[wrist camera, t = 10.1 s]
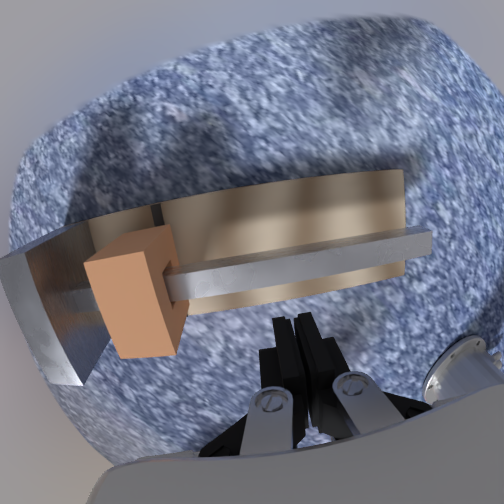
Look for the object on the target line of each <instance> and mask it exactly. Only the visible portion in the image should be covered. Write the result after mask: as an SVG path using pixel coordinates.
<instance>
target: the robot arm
mask: <svg viewBox="0 0 504 504" xmlns="http://www.w3.org/2000/svg"><path fill="white" fill-rule="evenodd" d="M272 321H273V328H274V335H275V342H276V347H274V348H267V349H260V350H259V362H260V376H261V390H259V391H257V392H256V393H255V394H254V395H253V396H252V398H251V400H250V405H249V410H248V414H246V415H245V416H244V417H243V418H241V419H240V420H239V421H238V422H236V423H235V424H234V425H232V426H231V427H230V428H229V429H227V430H226V431H225V432H223V433H222V434H221V435H219V436H218V437H217V438H215V439H214V440H212V441H211V442H210V443H208V444H207V445H206V446H205V447H203V448H202V449H201V451H199V452H193V451H192V450H189V451H183V452H177V453H170V454H163V455H155V456H146V457H141V458H138V459H137V460H135V461H132V462H127V463H123V464H120V465H117V466H114V467H112V468H110V469H108V470H107V471H105V472H104V473H103V474H102V475H101V477H100V478H99V479H98V480H97V482H96V484H95V485H94V487H93V489H92V492H91V493H90V495H89V497H88V500H87V502H86V504H504V374H503V373H502V372H501V371H500V370H499V369H501V367H502V363H501V361H500V360H499V359H500V358H501V353H500V352H499V351H498V352H496V353H494V354H493V355H492V356H491V355H490V354H489V353H488V352H487V351H486V343H485V341H484V340H483V339H482V338H481V337H480V336H477V335H472V336H468V337H466V338H464V339H462V340H460V341H459V342H457V343H456V344H454V345H453V346H452V347H451V348H449V349H448V350H447V351H446V352H445V353H444V354H443V355H442V357H441V358H440V359H439V360H438V361H437V362H436V364H435V365H434V366H433V368H432V369H431V371H430V372H429V374H428V376H427V378H426V380H425V382H424V385H423V390H422V394H423V397H424V399H425V400H426V401H427V403H429V404H432V405H429V404H427V403H424V402H421V401H417V400H413V399H409V398H405V397H402V396H398V395H394V394H391V393H387V392H383V391H382V390H381V389H380V388H379V387H378V386H377V384H376V383H375V382H374V381H373V379H372V378H371V377H370V376H368V375H367V374H365V373H363V372H358V371H350V369H349V367H348V365H347V363H346V361H345V359H344V357H343V355H342V353H341V351H340V349H339V347H338V345H337V343H336V341H335V339H334V337H330V338H325V339H322V337H321V335H320V333H319V330H318V328H317V326H316V323H315V321H314V319H313V316H312V314H311V312H307V313H301V314H298V317H297V318H294V328H295V335H294V331H293V328H292V324H291V321H290V319H285V316H283V317H277V318H272ZM308 410H309V415H310V419H311V423H312V426H313V427H316V426H318V430H319V433H325V434H327V435H330V436H331V441H332V442H328V443H324V444H319V445H314V446H309V447H303V448H298V446H297V444H298V443H299V442H300V441H301V440H302V439H303V438H304V437H305V436H306V434H305V429H306V428H309V424H308Z"/></svg>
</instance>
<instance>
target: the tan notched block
mask: <svg viewBox="0 0 504 504" xmlns="http://www.w3.org/2000/svg"><path fill="white" fill-rule="evenodd" d="M178 265H179V261H178V257H177V253H176V248H175V244H174V240H173V235H172V231H171V226H170V224H168V225H162V226H157V227H152V228H148V229H143V230H138V231H133V232H128V233H124V234H122V235H120V236H119V237H118V238H116V239H115V240H113V241H112V242H111V243H109V244H108V245H106V246H105V247H104V248H102V249H101V250H100V251H98V252H97V253H96V254H94V255H93V256H92V257H90V258H89V259H88V260H86V261H85V262H84V267H85V270H86V273H87V276H88V279H89V282H90V285H91V288H92V290H93V293H94V296H95V299H96V301H97V304H98V307H99V309H100V312H101V314H102V317H103V319H104V322H105V324H106V327H107V329H108V332H109V334H110V336H111V338H112V341H113V343H114V345H115V347H116V350H117V352H118V354H119V356H120V358H121V359H125V358H144V357H158V356H170V355H176V354H177V350H178V346H179V342H180V339H181V335H182V331H183V327H184V324H185V320H186V316H187V313H188V309H189V305H190V303H189V300H181V301H174V302H170V300H169V296H168V293H167V289H166V286H165V282H164V279H163V275H162V272H163V271H164V269H165V268H166V267H172V266H178Z"/></svg>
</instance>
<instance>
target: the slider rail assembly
mask: <svg viewBox="0 0 504 504" xmlns="http://www.w3.org/2000/svg"><path fill="white" fill-rule="evenodd" d="M431 250H432V231H431V230H429V229H427V228H424V227H422V226H420V225H418V226H412V227H406V228H400V229H394V230H388V231H382V232H376V233H370V234H364V235H358V236H352V237H346V238H340V239H334V240H328V241H322V242H316V243H310V244H304V245H298V246H292V247H286V248H280V249H274V250H268V251H262V252H256V253H250V254H244V255H238V256H232V257H226V258H220V259H214V260H208V261H202V262H196V263H190V264H184V265H178V266H172V267H166V268H165V269H164V271H163V272H162V275H163V279H164V282H165V286H166V289H167V293H168V296H169V300H170V302H174V301H181V300H188V299H195V298H202V297H209V296H215V295H222V294H228V293H235V292H241V291H247V290H253V289H259V288H265V287H271V286H276V285H282V284H288V283H293V282H299V281H304V280H310V279H315V278H320V277H326V276H331V275H336V274H341V273H346V272H351V271H356V270H361V269H366V268H371V267H375V266H380V265H385V264H389V263H394V262H398V261H403V260H407V259H412V258H416V257H421V256H425V255H429V254H431ZM94 254H96V250H95V247H94V243H93V240H92V236H91V232H90V228H89V224H88V221H84V222H80V223H76V224H73V225H69V226H66V227H62V228H59V229H56V230H54V231H52V232H50V233H48V234H46V235H44V236H42V237H40V238H38V239H36V240H34V241H32V242H30V243H28V244H26V245H24V246H22V247H20V248H18V249H16V250H14V251H13V252H11V253H9V254H7V255H5V256H4V257H2V258H0V279H1V282H2V285H3V288H4V290H5V293H6V296H7V298H8V301H9V303H10V306H11V308H12V310H13V313H14V315H15V317H16V320H17V322H18V324H19V326H20V328H21V330H22V332H23V334H24V337H25V339H26V341H27V343H28V344H29V346H30V348H31V350H32V352H33V354H34V356H35V358H36V359H37V361H38V363H39V365H40V366H41V368H42V370H43V372H44V373H45V375H46V377H47V378H48V380H49V381H50V383H52V384H63V385H77V386H84V384H85V382H86V380H87V379H88V377H89V375H90V373H91V371H92V370H93V368H94V366H95V364H96V363H97V361H98V359H99V357H100V356H101V354H102V352H103V351H104V349H105V347H106V346H107V344H108V342H109V341H110V339H111V336H110V334H109V332H108V329H107V327H106V324H105V322H104V319H103V317H102V314H101V312H100V309H99V307H98V304H97V301H96V299H95V296H94V293H93V290H92V288H91V285H90V282H89V279H88V276H87V273H86V270H85V267H84V262H85V261H86V260H88V259H89V258H90V257H92V256H93V255H94Z"/></svg>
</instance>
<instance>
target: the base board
mask: <svg viewBox="0 0 504 504" xmlns="http://www.w3.org/2000/svg"><path fill="white" fill-rule="evenodd" d="M84 221H88V224H89V228H90V232H91V236H92V240H93V243H94V247H95V250H96V253H97V252H98V251H100V250H101V249H102V248H104V247H105V246H106V245H108V244H109V243H111V242H112V241H113V240H115V239H116V238H118V237H119V236H120V235H122V234H124V233H128V232H133V231H138V230H143V229H148V228H152V227H157V226H162V225H168V224H170V226H171V231H172V235H173V240H174V244H175V248H176V253H177V257H178V261H179V265H184V264H190V263H196V262H202V261H208V260H214V259H220V258H226V257H232V256H238V255H244V254H250V253H256V252H262V251H268V250H274V249H280V248H286V247H292V246H298V245H304V244H310V243H316V242H322V241H328V240H334V239H340V238H346V237H352V236H358V235H364V234H370V233H376V232H382V231H388V230H394V229H400V228H406V224H405V192H404V176H403V170H402V169H390V170H376V171H364V172H353V173H342V174H333V175H323V176H315V177H306V178H298V179H291V180H283V181H276V182H269V183H262V184H256V185H249V186H243V187H237V188H231V189H225V190H219V191H214V192H208V193H203V194H198V195H192V196H187V197H182V198H177V199H172V200H168V201H163V202H158V203H154V204H149V205H145V206H140V207H136V208H132V209H127V210H123V211H119V212H115V213H111V214H107V215H103V216H99V217H95V218H91V219H88V220H84ZM84 221H80V222H84ZM80 222H77V223H80ZM73 224H76V223H73ZM73 224H69V225H73ZM69 225H66V226H69ZM66 226H63V227H66ZM61 228H62V227H61ZM404 271H405V260H403V261H398V262H394V263H389V264H385V265H380V266H375V267H371V268H366V269H361V270H356V271H351V272H346V273H341V274H336V275H331V276H326V277H320V278H315V279H310V280H304V281H299V282H293V283H288V284H282V285H276V286H271V287H265V288H259V289H253V290H247V291H241V292H235V293H228V294H222V295H215V296H209V297H202V298H195V299H188V300H189V303H190V305H189V309H188V313H187V316H186V317H188V315H195V314H202V313H209V312H216V311H223V310H229V309H236V308H242V307H248V306H254V305H260V304H266V303H272V302H278V301H283V300H289V299H294V298H300V297H305V296H310V295H315V294H320V293H325V292H330V291H335V290H340V289H345V288H349V287H354V286H359V285H363V284H368V283H372V282H376V281H381V280H385V279H389V278H393V277H398V276H402V275H404Z"/></svg>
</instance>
